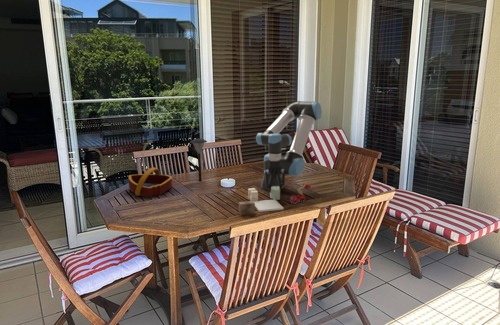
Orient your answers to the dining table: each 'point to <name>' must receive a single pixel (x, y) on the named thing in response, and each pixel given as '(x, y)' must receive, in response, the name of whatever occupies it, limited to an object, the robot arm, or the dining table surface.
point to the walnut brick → (246, 207)
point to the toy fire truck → (300, 197)
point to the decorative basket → (150, 183)
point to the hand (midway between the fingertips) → (274, 197)
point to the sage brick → (275, 193)
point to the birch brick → (253, 194)
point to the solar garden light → (198, 146)
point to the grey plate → (268, 205)
